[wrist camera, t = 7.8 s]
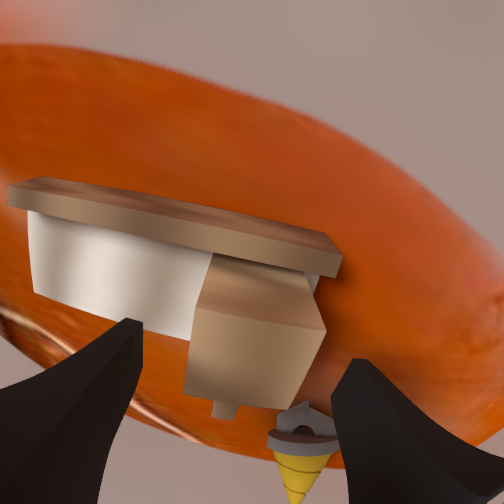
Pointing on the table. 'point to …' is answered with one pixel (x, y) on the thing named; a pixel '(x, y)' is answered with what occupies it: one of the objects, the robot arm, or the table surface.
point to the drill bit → (302, 447)
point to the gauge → (251, 336)
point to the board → (148, 250)
